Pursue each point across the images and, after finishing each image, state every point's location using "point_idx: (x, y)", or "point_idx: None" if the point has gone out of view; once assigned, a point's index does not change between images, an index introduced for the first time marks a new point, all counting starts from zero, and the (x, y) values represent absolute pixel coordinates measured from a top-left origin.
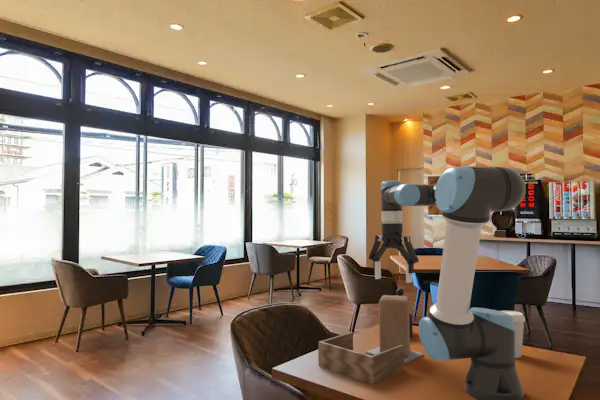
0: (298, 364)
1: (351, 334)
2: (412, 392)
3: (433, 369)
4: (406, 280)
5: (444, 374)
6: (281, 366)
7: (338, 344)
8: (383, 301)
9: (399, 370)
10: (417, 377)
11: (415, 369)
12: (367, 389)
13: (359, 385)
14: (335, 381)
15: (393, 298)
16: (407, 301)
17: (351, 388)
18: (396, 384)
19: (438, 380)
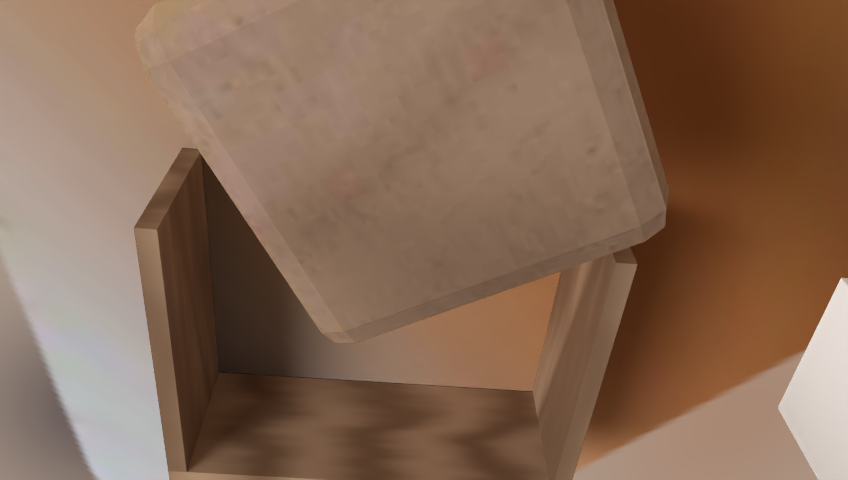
0: (123, 420)
1: (162, 238)
2: (729, 373)
3: (759, 61)
4: (809, 449)
5: (838, 97)
6: (95, 471)
7: (186, 329)
8: (384, 329)
9: None
10: (703, 227)
11: (657, 131)
12: None
13: None
14: None
15: (449, 210)
16: (648, 127)
17: None
18: (638, 348)
19: (817, 197)
